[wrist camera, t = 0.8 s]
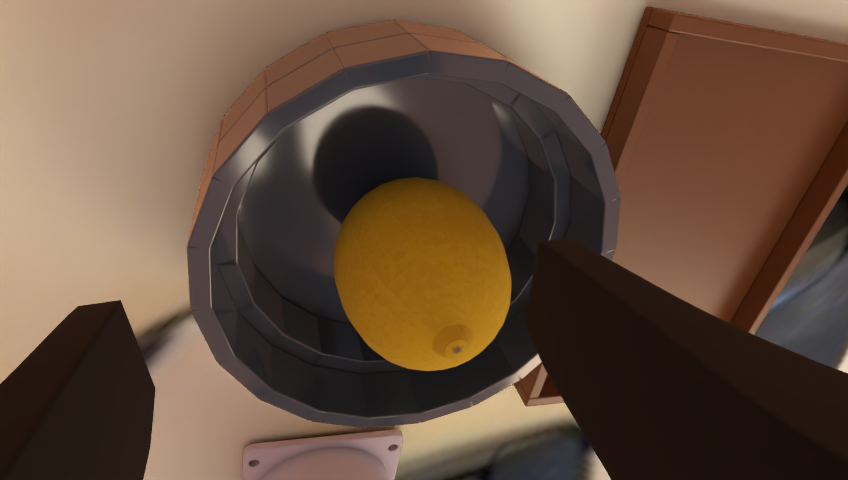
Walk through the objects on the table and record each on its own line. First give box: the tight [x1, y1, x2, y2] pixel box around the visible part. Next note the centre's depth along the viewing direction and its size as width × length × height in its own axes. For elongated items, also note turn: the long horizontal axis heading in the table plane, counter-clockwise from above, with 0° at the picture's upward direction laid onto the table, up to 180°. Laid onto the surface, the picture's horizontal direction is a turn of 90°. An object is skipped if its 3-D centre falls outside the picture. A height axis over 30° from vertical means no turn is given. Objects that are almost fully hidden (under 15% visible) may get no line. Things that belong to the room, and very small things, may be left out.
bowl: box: [187, 20, 621, 428], centre depth 19 cm, size 14×14×5 cm
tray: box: [514, 7, 848, 406], centre depth 25 cm, size 19×13×2 cm
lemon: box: [334, 177, 511, 371], centre depth 17 cm, size 6×6×8 cm
